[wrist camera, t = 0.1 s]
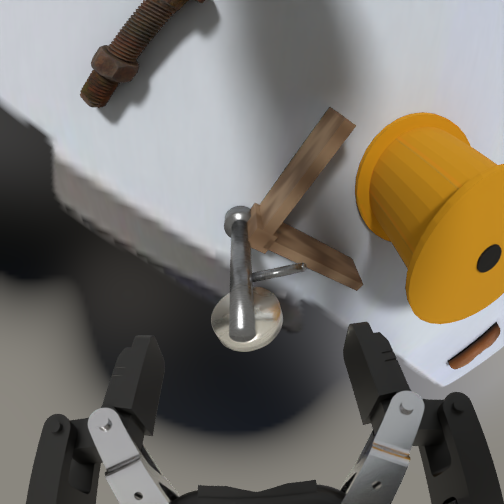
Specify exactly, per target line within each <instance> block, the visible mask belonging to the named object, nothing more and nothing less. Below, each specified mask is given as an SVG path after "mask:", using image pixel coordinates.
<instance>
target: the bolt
mask: <svg viewBox="0 0 504 504" xmlns="http://www.w3.org/2000/svg"><path fill="white" fill-rule="evenodd" d="M187 1H188V0H143V3H141V6H138V8H139V9H136V12H133V14H134V15H131V18H128V19H129V21H126V22H127V23H126V24H124V25H125V26H123V27H122V29H120V32H118V35H116V38H114V39H113V40H114V41H112V42H111V43H112V44H110V45H109V46H108V45H104V46H101V47H99V49H98V50H97V52H96V53H95V55H94V57H93V59H92V62H91V66H92V68H93V69H94V70H93V71H92V73H91V74H90V76H89V77H88V78H89V79H87V82H85V85H84V86H83V88H82V90H81V91H80V92H81V94H80V96H81V98H82V99H83V100H84V101H85V102H86V103H87V104H88V105H89V106H90V107H98V108H100V107H104V106H105V105H106V103H107V102H108V100H109V98H110V97H111V95H112V94H113V92H114V91H115V89H116V88H117V86H118V84H119V83H125V82H129V81H131V80H132V79H133V77H134V76H135V75H136V73H137V72H138V68H139V64H138V62H137V61H136V59H137V58H138V56H140V53H142V50H144V49H145V48H144V47H146V46H147V44H149V42H150V41H151V39H153V38H154V37H153V36H155V35H156V33H158V30H160V29H161V28H160V27H163V25H165V22H167V21H168V20H167V19H170V17H169V16H173V14H175V12H176V11H178V10H180V8H181V7H182V6H183V5H184V4H185V3H186V2H187ZM195 1H197V2H199V3H201V4H202V3H203V2H204V1H205V0H195Z"/></svg>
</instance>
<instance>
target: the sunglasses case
mask: <svg viewBox="0 0 504 504" xmlns="http://www.w3.org/2000/svg"><path fill="white" fill-rule="evenodd" d="M499 334H500V328H499V326H498V324H497V322H496V323H495V324H494V325H493V326H492V327H491V328H490V329H489V330H488V331H487V332H486V333H485V334H484V335H483V336H482V337H481V338H480V339H479V340H477V341H476V342H475V343H473V344H472V345H471V346H470V347H468V348H467V349H466V350H464V351H463V352H462V353H460V354H459V355H458V356H456V357H455V358H453V359H452V360H450V361H449V360H448V363H449V365H450V367H451V368H453V369H458V368H461V367H463V366H465V365H466V364H468V363H469V362H471V361H472V360H473V359H474V358H475V357H476V356H477V355H478V354H480V353H482V351H483V350H485V349H486V348H488V347H489V346H491V345H492V344H493V343H494V342H495V340H496V339H497V338H498V336H499Z"/></svg>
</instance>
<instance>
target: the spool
mask: <svg viewBox="0 0 504 504" xmlns="http://www.w3.org/2000/svg"><path fill="white" fill-rule="evenodd" d="M355 195H356V203H357V206H358V209H359V212H360V215H361V217H362V218H363V220H364V222H365V223H366V225H367V226H368V228H369V229H370V230H371V231H372V232H373V233H375V234H376V235H377V236H379V237H381V238H382V239H384V240H387V241H390V242H392V244H393V245H394V247H395V249H396V250H397V252H398V253H399V255H400V257H401V258H402V260H403V262H404V263H405V265H406V267H407V269H408V271H407V277H406V287H405V289H406V295H407V300H408V302H409V304H410V306H411V308H412V310H413V312H414V314H415V315H416V316H418V317H419V318H420V319H421V320H423V321H426V322H429V323H435V324H444V323H451V322H455V321H458V320H462V319H464V318H467V317H469V316H471V315H473V314H475V313H477V312H479V311H481V310H482V309H484V308H486V307H487V306H488V305H490V304H491V303H492V302H494V301H495V300H496V299H498V298H499V297H500V296H501V295H502V294H503V293H504V164H501V165H497V164H495V163H494V162H493V161H491V160H490V159H488V158H487V157H485V156H484V155H483V154H481V153H480V152H478V151H477V150H475V149H474V148H472V147H471V146H470V144H469V142H468V140H467V138H466V136H465V134H464V133H463V132H462V131H461V130H460V128H459V127H458V126H457V125H455V124H454V123H453V122H451V121H450V120H448V119H446V118H444V117H442V116H439V115H436V114H432V113H423V112H422V113H414V114H409V115H406V116H404V117H401V118H399V119H397V120H395V121H394V122H392V123H391V124H389V125H387V126H386V127H385V128H384V129H383V130H382V131H381V132H380V133H379V134H378V135H377V136H376V137H375V138H374V139H373V141H372V142H371V143H370V145H369V146H368V148H367V149H366V151H365V153H364V155H363V158H362V160H361V162H360V164H359V168H358V172H357V176H356V185H355Z"/></svg>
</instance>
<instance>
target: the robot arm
mask: <svg viewBox="0 0 504 504" xmlns="http://www.w3.org/2000/svg"><path fill="white" fill-rule="evenodd" d="M343 355H344V361H345V365H346V368H347V371H348V374H349V378H350V381H351V384H352V388H353V391H354V395H355V398H356V401H357V405H358V408H359V411H360V415H361V419H362V422H363V425H365V424H369V423H371V424H372V427H373V431H372V433H371V435H370V437H369V439H368V441H367V443H366V445H365V447H364V449H363V450H362V452H361V454H360V456H359V458H358V460H357V462H356V464H355V465H354V467H353V469H352V470H351V472H350V473H349V475H348V476H347V478H346V479H345V481H344V483H343V484H342V486H341V488H340V489H339V490H338V489H335V488H332V487H329V486H324V485H316V480H311V481H304V482H296V483H287V484H284V485H281V486H277V487H274V488H271V489H267V490H264V491H261V492H252V491H247V490H241V489H237V488H232V487H228V486H201V485H200V486H199V485H198V490H197V491H193V492H189V493H186V494H184V495H182V496H180V495H179V494H178V492H177V491H176V489H175V488H174V487H173V486H172V485H171V483H170V482H169V481H168V480H167V479H166V478H165V476H164V475H163V474H162V472H161V471H160V469H159V468H158V466H157V465H156V463H155V462H154V460H153V458H152V457H151V456H150V454H149V452H148V450H147V449H146V447H145V446H144V444H143V438H144V435H148V436H153V431H154V425H155V419H156V414H157V407H158V403H159V397H160V392H161V387H162V381H163V376H164V371H165V363H164V358H163V356H162V353H161V351H160V349H159V346H158V344H157V341H156V339H155V337H154V336H138V335H137V336H136V337H135V338H134V341H133V344H132V347H126V348H125V349H124V350H123V351H122V352H121V354H120V355H119V356H118V359H117V362H116V364H115V368H114V370H113V373H112V377H111V379H110V383H109V386H108V389H107V392H106V395H105V399H104V402H103V405H102V407H101V408H100V409H97V410H96V411H94V412H93V413H92V414H91V415H90V417H89V418H85V419H78V420H71V421H70V420H69V419H67V417H65V416H64V415H62V414H54V415H52V416H50V417H49V418H48V419H47V420H46V422H45V423H44V426H43V430H42V433H41V437H40V441H39V444H38V449H37V452H36V457H35V460H34V465H33V469H32V474H31V479H30V484H29V489H28V495H27V501H26V504H96V496H97V487H98V478H99V471H100V464H101V463H102V462H103V463H104V465H105V467H106V470H107V472H105V476H106V479H107V481H108V483H109V485H110V487H111V489H112V491H113V493H114V494H115V496H116V498H117V500H118V501H119V503H120V504H391V503H392V501H393V499H394V496H395V494H396V492H397V490H398V488H399V486H400V484H401V482H402V480H403V477H404V475H405V473H406V470H407V468H408V465H409V462H410V457H409V453H410V450H411V447H412V446H419V450H420V454H421V458H422V462H423V466H424V470H425V474H426V479H427V484H428V488H429V493H430V498H431V503H432V504H504V501H503V497H502V493H501V489H500V485H499V481H498V477H497V474H496V470H495V467H494V464H493V460H492V457H491V454H490V451H489V448H488V445H487V442H486V439H485V436H484V433H483V431H482V428H481V425H480V423H479V420H478V418H477V415H476V412H475V410H474V408H473V405H472V403H471V401H470V399H469V398H468V397H467V396H466V395H465V394H463V393H460V392H453V393H450V394H449V395H448V396H447V397H446V398H445V399H444V400H426V399H422V398H421V397H420V396H419V395H418V394H416V393H415V392H412V391H411V390H410V388H409V386H408V384H407V381H406V379H405V377H404V374H403V372H402V370H401V367H400V365H399V363H398V361H397V360H396V356H395V354H394V352H393V350H392V348H391V345H390V343H389V341H388V340H387V339H386V338H385V337H384V336H383V335H382V334H381V333H380V332H378V333H373V331H372V329H371V327H370V325H369V323H368V322H361V323H353V324H350V325H349V327H348V331H347V335H346V340H345V344H344V349H343Z"/></svg>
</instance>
